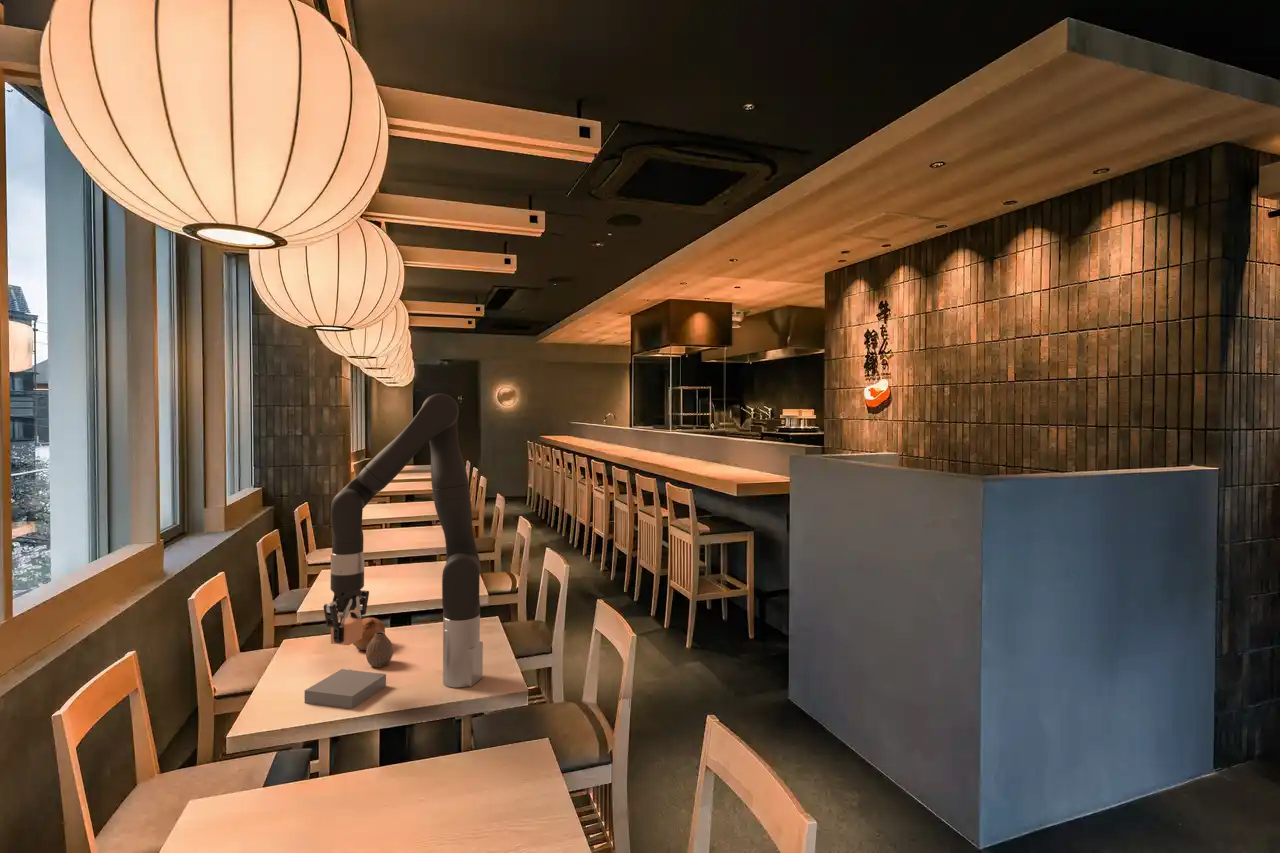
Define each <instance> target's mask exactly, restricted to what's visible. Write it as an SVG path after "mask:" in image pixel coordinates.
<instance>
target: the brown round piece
mask: <svg viewBox="0 0 1280 853" xmlns="http://www.w3.org/2000/svg"><path fill="white" fill-rule="evenodd" d="M377 632H384V633H385V634H386V629H385V624H384V623H383V622H382V620H380V619H378V618H377V617H365V618H362V639H360V640H358V641H356V642H354V643H352V645H353V646H354V647H355V649H357V650H360V651H366V650H367V646H368V644H369V643H370V641H371V640H372V639H373V637H374V635H375V633H377Z"/></svg>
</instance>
